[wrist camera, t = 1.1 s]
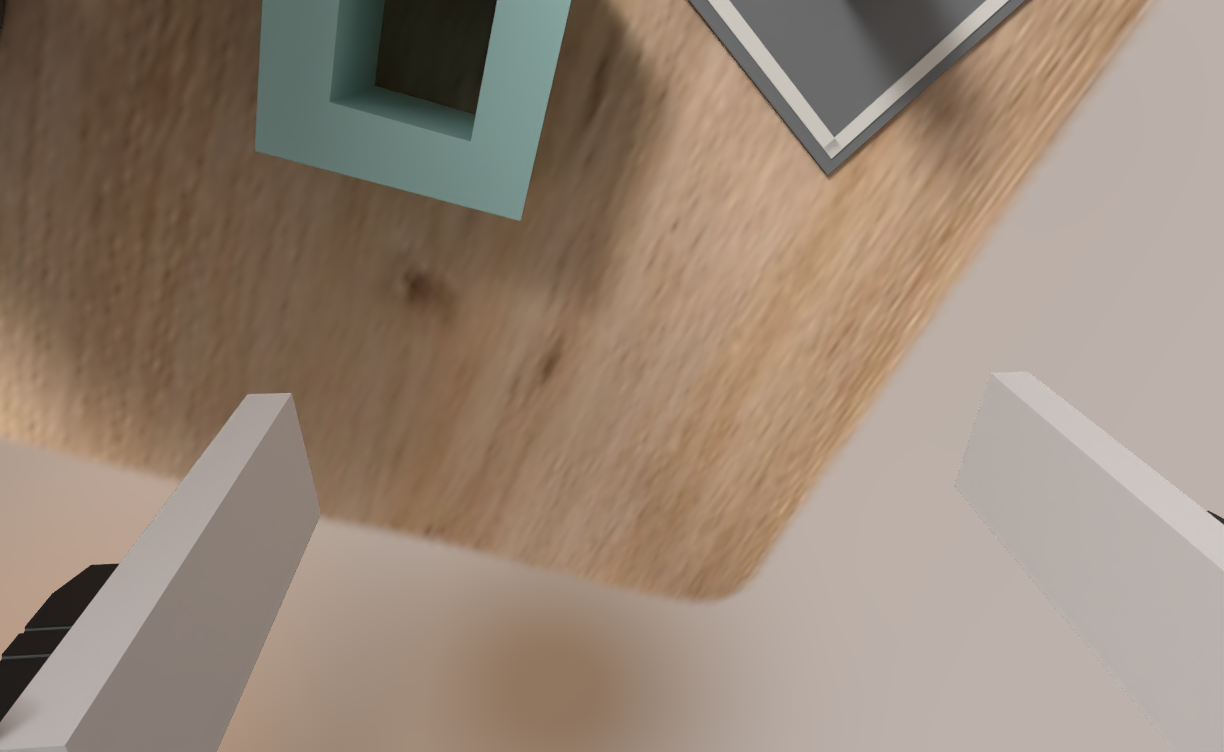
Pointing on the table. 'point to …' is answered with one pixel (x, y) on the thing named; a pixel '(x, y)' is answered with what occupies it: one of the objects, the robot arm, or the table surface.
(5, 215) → the table surface
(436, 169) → the block with square hole
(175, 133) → the table surface
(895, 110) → the mat
